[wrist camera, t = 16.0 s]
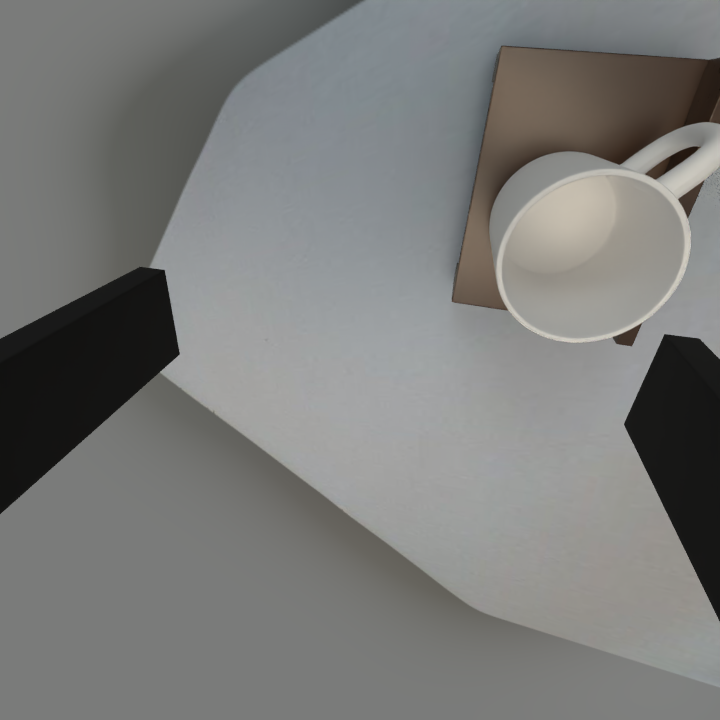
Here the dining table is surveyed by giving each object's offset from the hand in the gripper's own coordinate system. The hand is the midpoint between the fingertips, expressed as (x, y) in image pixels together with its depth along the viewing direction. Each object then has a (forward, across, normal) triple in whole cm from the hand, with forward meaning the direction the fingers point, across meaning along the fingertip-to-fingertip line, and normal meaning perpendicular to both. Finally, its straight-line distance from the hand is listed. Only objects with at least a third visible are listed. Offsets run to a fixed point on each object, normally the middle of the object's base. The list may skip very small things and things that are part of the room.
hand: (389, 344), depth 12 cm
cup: (+22, +9, +1) cm, 24 cm away
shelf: (+26, +8, 0) cm, 28 cm away
